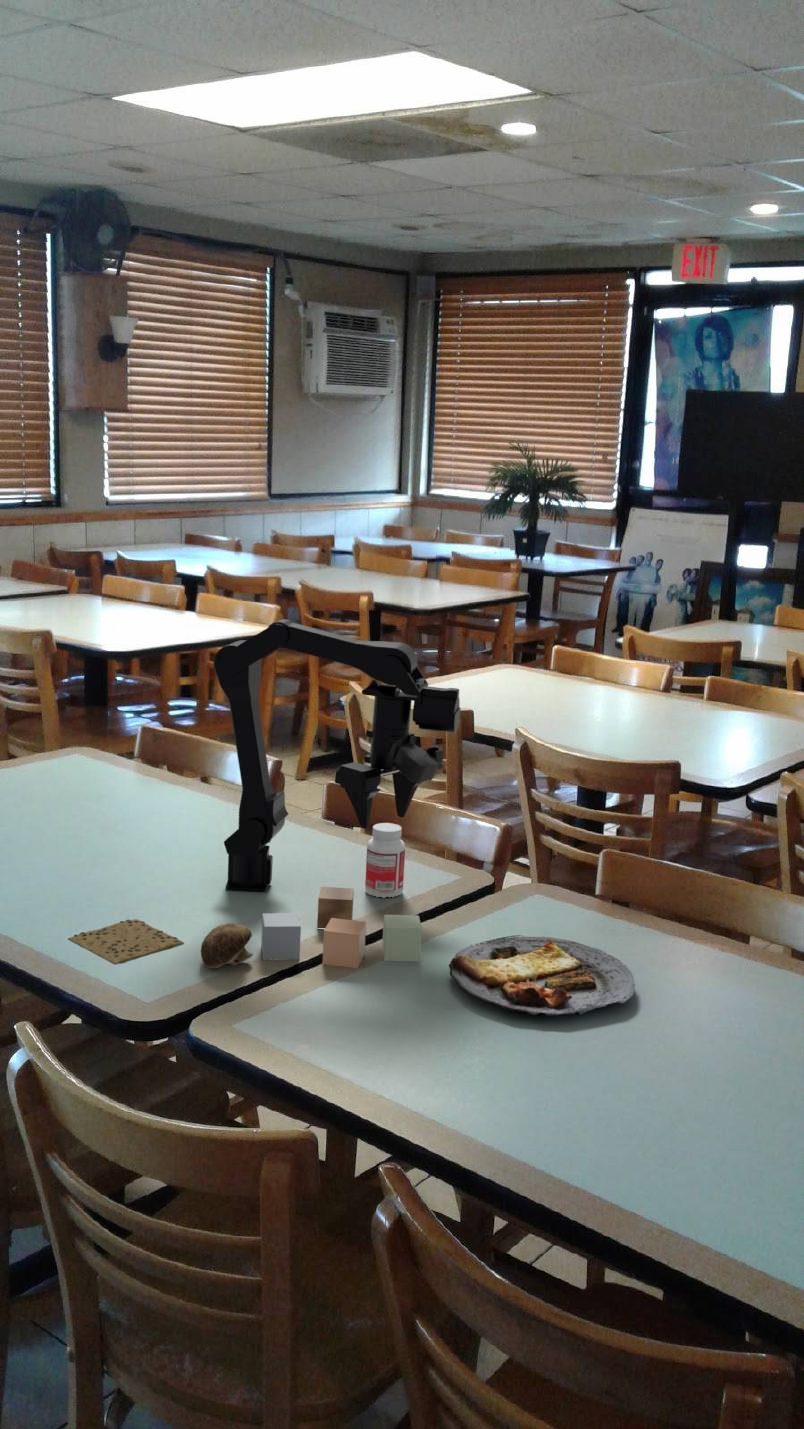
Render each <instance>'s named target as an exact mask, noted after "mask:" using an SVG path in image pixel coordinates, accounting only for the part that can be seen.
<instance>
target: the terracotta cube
mask: <svg viewBox="0 0 804 1429" xmlns="http://www.w3.org/2000/svg"><path fill="white" fill-rule="evenodd" d="M366 927H367V921H363V920H353V919H352V920H346V919H337V918H331V919H330V921H329V923H328V925H327V926H326V928H325V930H323V945H322V963H321V964H322V965H327V966H335V967H344V968H352V969H358V968H359V967H360V965H361V962H362V960H363V959H364V956H365V950H366V930H367V928H366Z"/></svg>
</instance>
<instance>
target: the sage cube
mask: <svg viewBox="0 0 804 1429" xmlns="http://www.w3.org/2000/svg"><path fill="white" fill-rule="evenodd" d="M420 919H421V918H420V915H417V914H416V915H413V914H410V915H408V914H402V915H401V914H384V915H383V928H382V945H381V947H382V948H381V949H382V953H383V954H382V955H383V959H384V962H388V961H389V962H419V963H420V962H421V951H422V950H421V948H422V933H423V928H422V924H421V920H420Z"/></svg>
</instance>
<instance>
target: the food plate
mask: <svg viewBox="0 0 804 1429" xmlns="http://www.w3.org/2000/svg"><path fill="white" fill-rule="evenodd" d="M448 967H449V968H448V969H449V975H450V977H451V978H452V979H453V980H454V981H455V982H456V984H458V986H459V987H460V988H462V990H463V991H464V992H465V994H468V995H470V996H471V997H473V998H475V999H478V1000H479V1001H483V1002H486V1003H490V1004H492V1005H495V1006H499V1007H501V1008H503V1009H505V1010H508V1011H511V1010H513V1011H514V1012H519V1013H520V1012H521V1013H523V1015H522V1016H525V1015H526V1012H527V1014H528V1015H532V1016H536V1015H537V1014H539V1013H542V1014H544V1015H545V1016H548V1017H553V1016H559V1015H575V1014H576V1013H578V1014H579V1016H581V1015H583V1014H585V1013H587V1012H590V1011H593V1010H594V1009H597V1008H599V1009H600V1008H602V1007H604V1008H606V1006H608V1005H610V1004H611V1005H612V1004H614V1003H620V1004H624V1003H626V1002H627V1001H628V1000H630V999H631V998H632V997H633V996H634V994H635V991H636V987H635V986H636V985H635V978H634V974H633V973H632V971H631V969H629V968H628V966H627V964H624V962H622V961H621V959H618V958H617V957H615V956H612V955H610V954H609V953H607V952H606V951H604V950H602V949H601V948H598V947H594V946H590V945H587V944H585V943H582V942H578V941H575V940H571V939H566V938H559V937H552V936H543V935H542V936H526V935H516V934H515V935H509V936H507V935H506V936H503V937H497V938H493V939H489V940H485V941H481V942H478V943H475V944H471V945H468V946H466V947H464V948H461V949H460V950H459V951H458V952H457V953H456V954H455V956H454V957H452V959H451V960H450V963H448Z"/></svg>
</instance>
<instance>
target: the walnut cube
mask: <svg viewBox="0 0 804 1429" xmlns="http://www.w3.org/2000/svg"><path fill="white" fill-rule="evenodd" d="M354 890H355V888H354V887H335V886H334V887H333V886H320V889H319V894H318V901H317V902H318V904H317V921H316V922H317V923H316V924H317V926H316V929H317V928H326V926H327V925H328V923H329V921H330V919H331V918H337V919H346V920H353V916H354V914H353V911H354V894H355V891H354Z"/></svg>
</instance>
